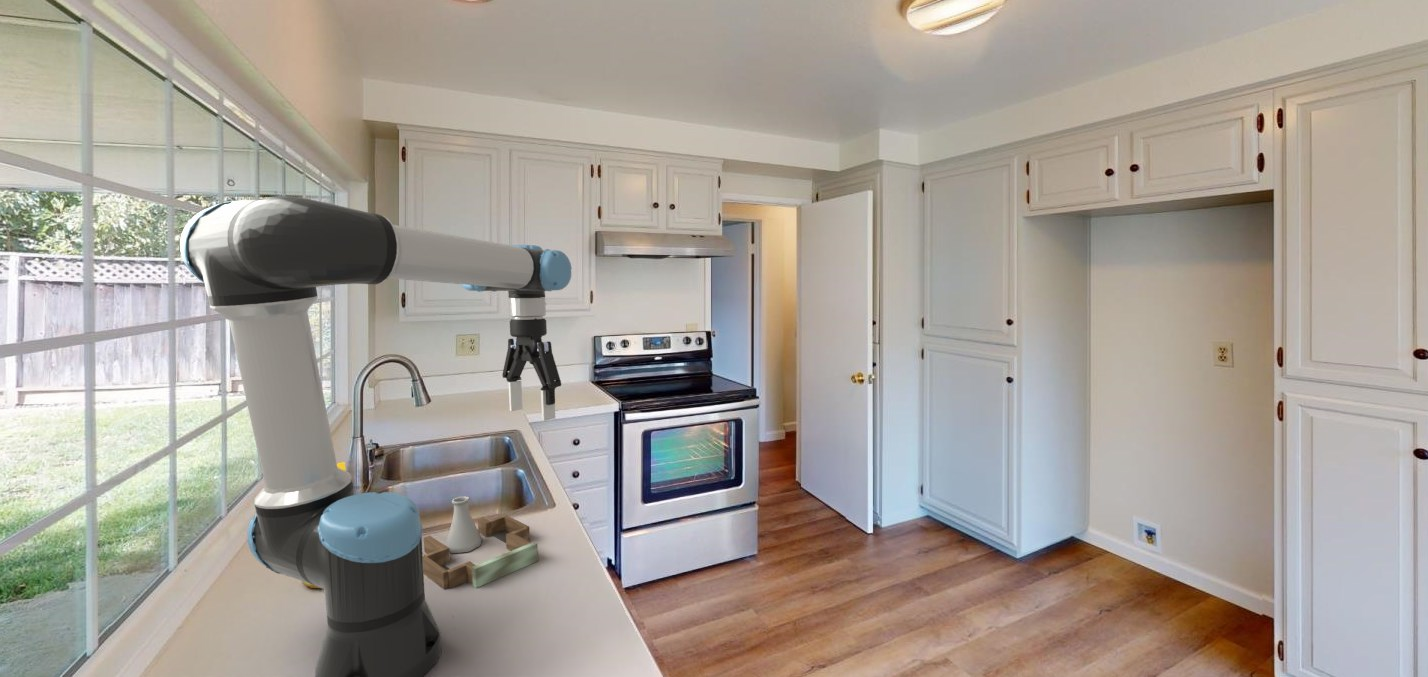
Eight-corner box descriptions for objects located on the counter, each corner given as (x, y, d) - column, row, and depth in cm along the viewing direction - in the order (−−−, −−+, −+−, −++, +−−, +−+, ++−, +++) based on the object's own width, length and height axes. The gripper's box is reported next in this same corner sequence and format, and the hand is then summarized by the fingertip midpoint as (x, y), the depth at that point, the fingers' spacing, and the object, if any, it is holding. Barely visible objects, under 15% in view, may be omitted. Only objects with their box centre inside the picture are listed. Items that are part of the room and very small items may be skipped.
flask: (488, 538, 117) (486, 492, 116) (470, 555, 110) (468, 506, 109) (456, 537, 118) (453, 491, 117) (436, 554, 110) (433, 505, 109)
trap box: (454, 597, 95) (453, 578, 94) (404, 559, 108) (403, 542, 108) (555, 553, 110) (554, 536, 110) (499, 524, 124) (499, 509, 123)
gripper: (576, 319, 114) (579, 420, 116) (515, 315, 130) (518, 403, 133) (543, 321, 108) (547, 427, 110) (484, 316, 125) (488, 409, 127)
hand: (531, 414), depth 121 cm, fingers open, 13 cm apart
